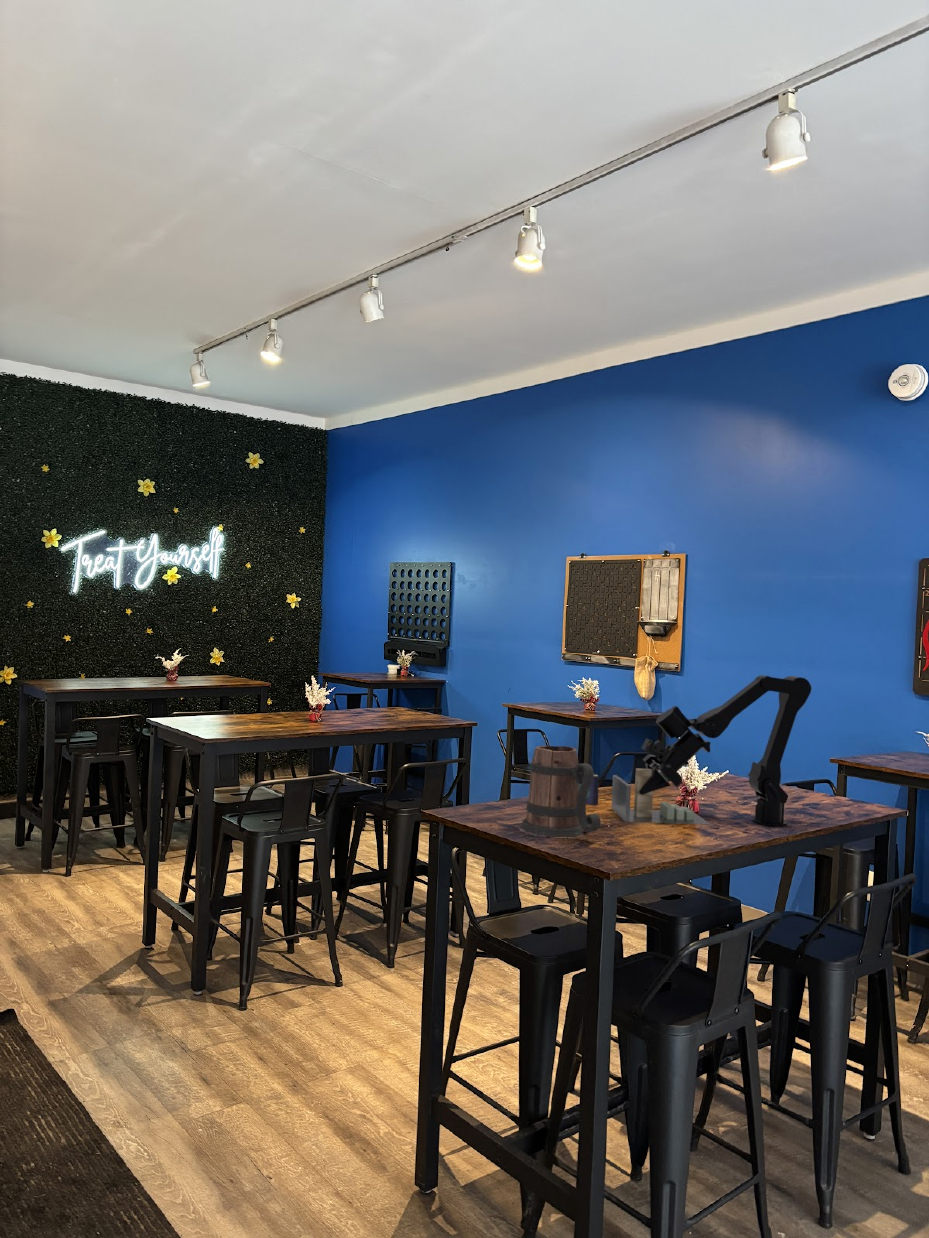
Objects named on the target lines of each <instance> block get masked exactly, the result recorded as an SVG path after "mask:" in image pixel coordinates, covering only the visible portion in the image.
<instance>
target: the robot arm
mask: <svg viewBox="0 0 929 1238" xmlns="http://www.w3.org/2000/svg"><path fill="white" fill-rule="evenodd" d="M768 692H775V693H778V711H777V714H776V716H775V719H774V723H773V725H772V729H771V732H770V734H769V738H768V741H767V744H766V747H765V750H764V753H763V756H762V758H761V759H760V760H759V762H755V761H752V763H751V765H750V766H751V767H750V772H749V773H748V774H747V777H748V778H749V779H748V784H749V785H750V788H751V789H752V791H754V793H755V796H756V797H758V798H757V799H756V804H755V810H754V811H755V812H754V813H755V814H754V818H752V821H753V822H756V823H758V824H761V825H764V826H766V825H778V826H788V823H787V822H785V821H784V820H785V819H784V818H785V804H786V803H787V801H788V799H789V795H788V793H787V792H786V791H785V790H784V789H783V788H782V787H781V782H782V781H781V780H782V770H781V768H782V767H781V763H782V760H783V758H784V753H785V750H786V747H787V745H788V741H789V740H790V735H791V732H792V730H793V727H794V723H795V721H796V717H797V715H798V712H799V711H800V710H801V709H802V708H803V706H804V705H805V704H806V702H807V701H808V699H809V696H810V695H811V692H812V685H811V684H810V681H809V680H808V679H806V678H805V677H800V676H794V675H793V676H792V675H788V676H786V677H784V678H779V677H772V676H769V675H764V674H760V675H758V676H757V677H756V678H754V680H752V681H751V682H750V683H748V684H747V685H746V686H745V687H743V688H742V689H740V690H739V692H737V693H736V694H735V695H733V696H732V697H730V699H728V700H726V701H725V702H724V703H723V704H721V705H720V706H718V707H715V708H712V709H710V710H708V711H706V712H704V713H702V714H700V715H699V716H698V717H696V718H689V719H688V718H687V717H686V715H685V714H683V712H682V710H681V709H680V707H679V706H676V705H673V706H672V707H671V708H669V709H667V710H666V711H664V712H662V713H661V714H660V715H659V716H658V717H657V719H656V721H655V723H656V724H657V725H658V726H659V727H660V728H661V730H662V731H663V732H664V733H665V735H667V736H668V738H670V739H674V738H675V739H677V740H676V741H675V742H674V743H673V744H667V745H666V746H665V742H663V741H660V739H657V740H655V741H653V740H651V739H649V738H647V737H646V738H645V740H644V741H643V744H642V746H641V748H640V749H641V750H642V751H645V752H646V753H648V754H647V755H646V756H645V757H644V758H642V760H643V762H644V764H645V769H652V775H651V777H650V778H649V779H648V781H647V782H646V783H645V784H644V785H643V787H642V788H641V789H640V791H639V793H640V794H641V795H643V794H646V793H649V792H652V791H653V792H655V791H658V790H661V789H663V788H667V787H671V784H670V783H672V786H673V787H675V788H678V787H679V786H680V785H681V784H682V782H683V777H682V776H681V775H680V773H679V772H678V771H679V770H680V769H682V768H683V767H684V766H685V767H687V766H688V765H689V764H690V762H689V761H690V760H691V759H692V758H693V757H694V756H695V755H696V754H698V753H699V752H700V751H701V750H703V751H704V752H706V753H711V741H709V740H704V737H706V738H710V739H716V738H718V737H720V736H721V735H722V734H723V733H724V732H725V730H726V729H727V728H728V727H729V726H730V724H731V722H732V721H733V719H735V718H736V717H737V716H738V715H740V714H741V713H742V712H743V711H745V710H746V709H747V708H748V707H750V706H751V705H752V704H754V703H755V702H756V701H757V700H759V699H760V698H761V697H763V696H764V695H765V694H766V693H768ZM691 729H692V730H694V731H696V732H697V733H694V732H693V731H692V730H691ZM702 736H704V737H702Z"/></svg>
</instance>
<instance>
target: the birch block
mask: <svg viewBox="0 0 929 1238" xmlns="http://www.w3.org/2000/svg"><path fill="white" fill-rule="evenodd" d="M651 775H652V769H646V768H637V767H636V768H635V779H634V780H635V782H634V803H633V804H634V805H633V809H634V815H635V816H636V817H652V810H653V799H654V791H652V792H649V793H646V794H643V795H641V794H640V793H639V791H640V789H641V788H642V787H643V785H644V784H645V783H646V782H647V781H648V779H649V778H650V777H651Z"/></svg>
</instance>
